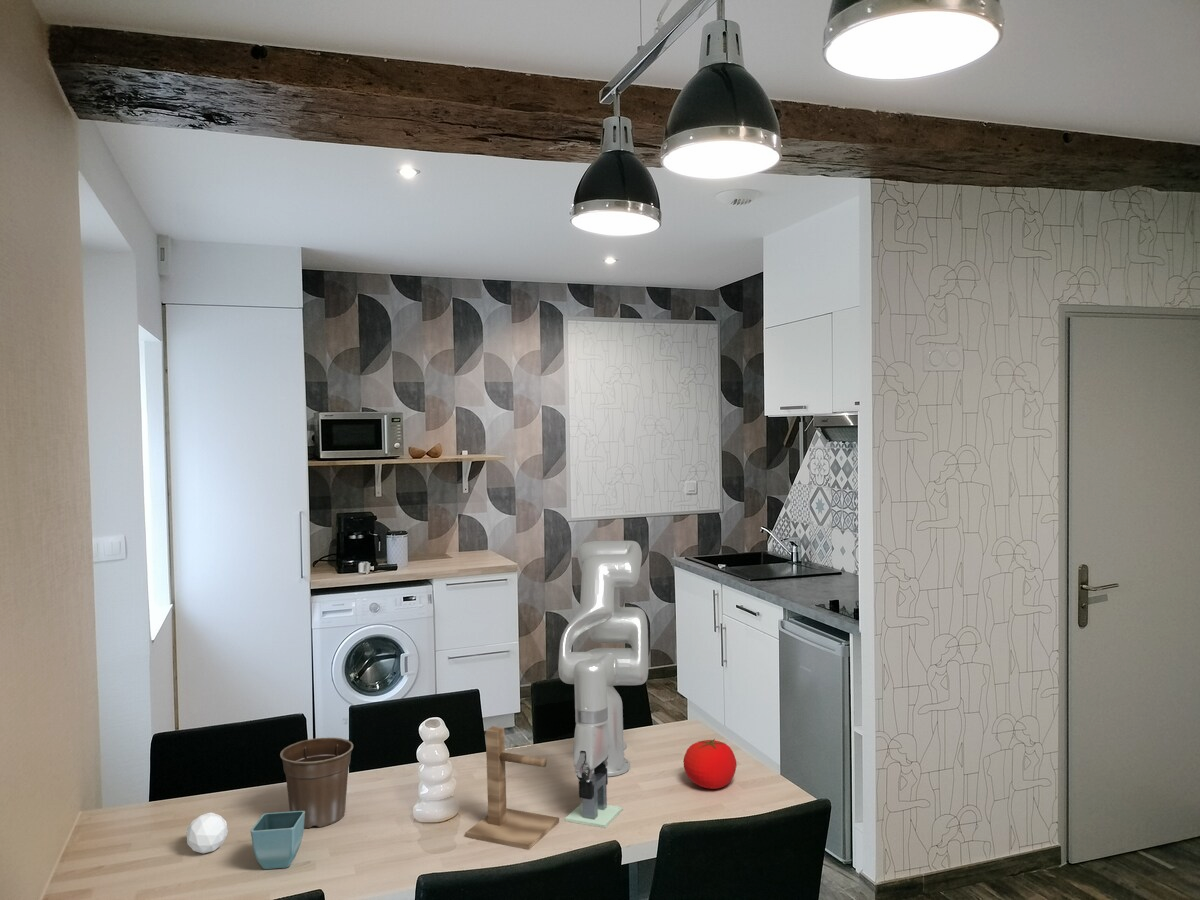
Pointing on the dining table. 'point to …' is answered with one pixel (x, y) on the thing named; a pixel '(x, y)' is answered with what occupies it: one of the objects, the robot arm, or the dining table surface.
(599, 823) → the mat
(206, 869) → the dining table surface
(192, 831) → the white faceted egg
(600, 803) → the link
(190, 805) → the dining table surface
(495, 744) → the stand
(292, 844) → the flower pot
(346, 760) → the plant pot
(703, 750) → the tomato
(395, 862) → the dining table surface
